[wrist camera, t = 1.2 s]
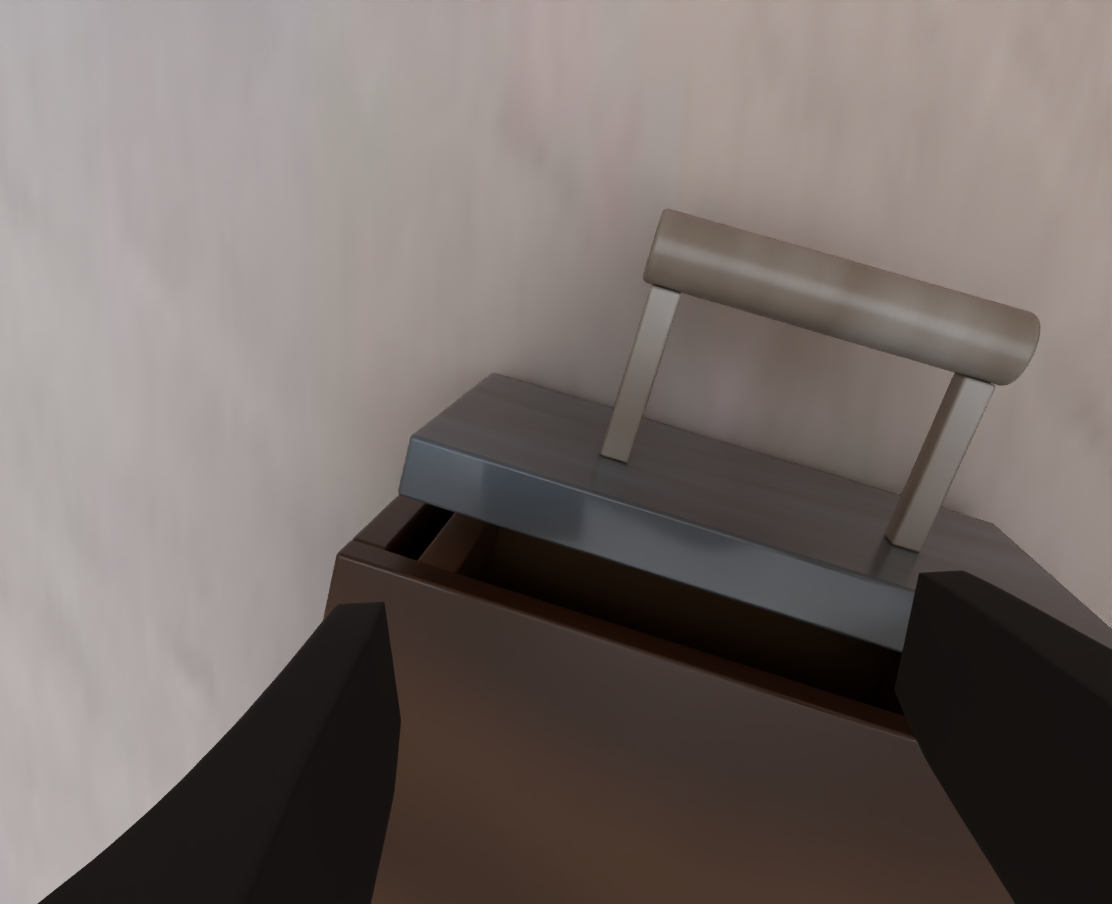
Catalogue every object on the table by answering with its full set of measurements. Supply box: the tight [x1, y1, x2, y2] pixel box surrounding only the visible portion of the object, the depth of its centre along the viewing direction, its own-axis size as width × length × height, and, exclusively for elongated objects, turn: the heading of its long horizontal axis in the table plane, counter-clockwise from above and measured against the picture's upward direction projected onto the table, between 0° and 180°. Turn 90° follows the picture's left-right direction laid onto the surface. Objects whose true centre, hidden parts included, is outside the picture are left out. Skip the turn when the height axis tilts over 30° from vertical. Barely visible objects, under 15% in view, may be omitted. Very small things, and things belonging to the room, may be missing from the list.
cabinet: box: [323, 494, 1015, 904], centre depth 19 cm, size 13×14×8 cm
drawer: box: [398, 209, 1112, 717], centre depth 18 cm, size 17×13×7 cm
